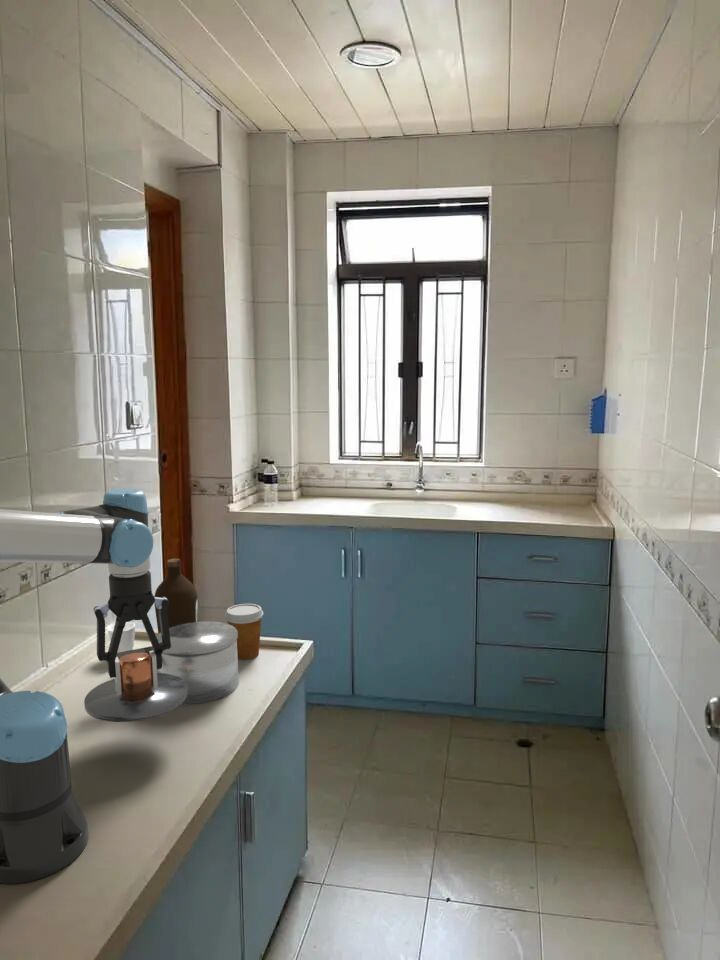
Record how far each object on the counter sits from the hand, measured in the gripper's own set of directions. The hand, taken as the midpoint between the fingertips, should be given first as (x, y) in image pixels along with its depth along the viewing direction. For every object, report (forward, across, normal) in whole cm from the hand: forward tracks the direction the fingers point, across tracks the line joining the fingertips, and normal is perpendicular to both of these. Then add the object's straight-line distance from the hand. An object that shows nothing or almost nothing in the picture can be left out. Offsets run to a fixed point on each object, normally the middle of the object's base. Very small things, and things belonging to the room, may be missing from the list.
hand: (136, 688), depth 136 cm
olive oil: (+11, -17, -40) cm, 45 cm away
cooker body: (+11, -12, -20) cm, 26 cm away
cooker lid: (+2, 0, 0) cm, 2 cm away
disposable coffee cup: (+11, -32, -32) cm, 47 cm away
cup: (+11, -3, -45) cm, 47 cm away
